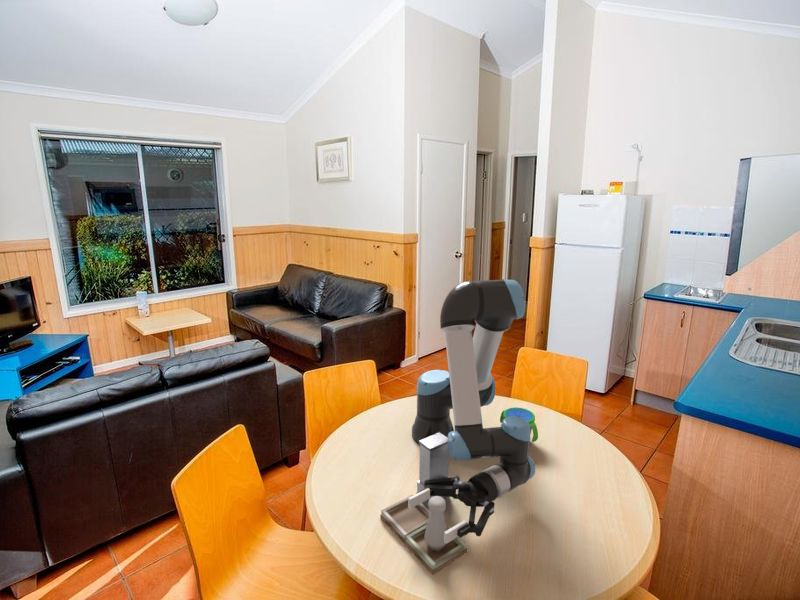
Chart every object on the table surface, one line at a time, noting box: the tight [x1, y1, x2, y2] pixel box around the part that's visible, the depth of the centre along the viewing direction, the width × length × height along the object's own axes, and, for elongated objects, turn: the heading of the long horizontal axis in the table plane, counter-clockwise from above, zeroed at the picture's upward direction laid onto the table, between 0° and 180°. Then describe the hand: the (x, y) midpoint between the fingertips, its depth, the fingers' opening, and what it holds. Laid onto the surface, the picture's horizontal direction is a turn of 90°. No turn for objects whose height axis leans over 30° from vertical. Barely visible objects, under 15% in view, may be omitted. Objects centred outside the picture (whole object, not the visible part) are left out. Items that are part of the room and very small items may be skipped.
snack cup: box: [499, 407, 539, 443], centre depth 153 cm, size 16×10×10 cm
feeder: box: [416, 432, 451, 509], centre depth 122 cm, size 8×8×19 cm
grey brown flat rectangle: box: [380, 494, 469, 575], centre depth 113 cm, size 22×11×2 cm, turn 36°
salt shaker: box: [424, 496, 447, 552], centre depth 107 cm, size 6×6×13 cm
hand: (425, 519), depth 104 cm, fingers open, 13 cm apart
